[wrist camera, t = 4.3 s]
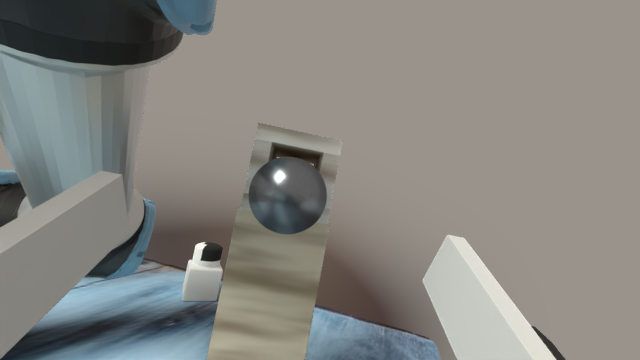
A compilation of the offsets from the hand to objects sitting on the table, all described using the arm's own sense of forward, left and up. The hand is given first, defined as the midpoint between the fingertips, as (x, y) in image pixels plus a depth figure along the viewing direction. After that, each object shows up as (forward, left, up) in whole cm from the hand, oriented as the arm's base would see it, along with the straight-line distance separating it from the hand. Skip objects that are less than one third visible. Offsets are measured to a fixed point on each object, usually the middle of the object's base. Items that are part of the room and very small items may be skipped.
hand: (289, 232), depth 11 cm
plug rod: (-11, +6, +1) cm, 13 cm away
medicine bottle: (-56, +13, -26) cm, 63 cm away
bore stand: (-17, +9, -26) cm, 32 cm away
